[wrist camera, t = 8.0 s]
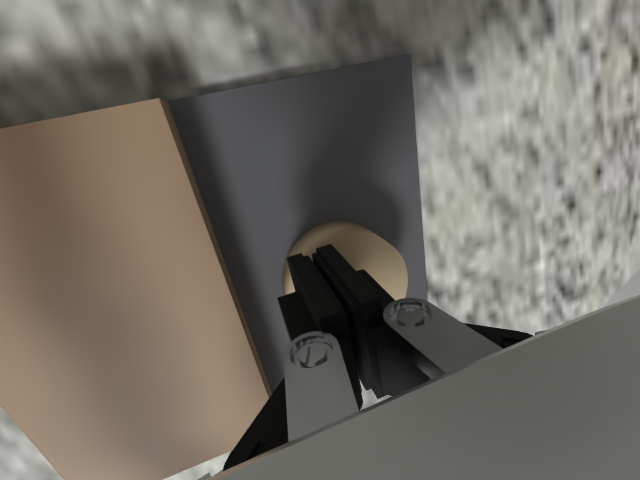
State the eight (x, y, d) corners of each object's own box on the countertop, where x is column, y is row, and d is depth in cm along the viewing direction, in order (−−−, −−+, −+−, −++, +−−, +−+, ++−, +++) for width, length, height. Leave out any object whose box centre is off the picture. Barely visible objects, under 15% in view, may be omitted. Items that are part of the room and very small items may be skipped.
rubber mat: (406, 55, 12) (410, 54, 12) (426, 334, 18) (430, 337, 18) (168, 102, 11) (167, 101, 10) (273, 395, 16) (274, 400, 16)
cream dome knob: (387, 214, 14) (412, 228, 12) (382, 310, 16) (403, 333, 14) (277, 227, 13) (287, 244, 11) (285, 329, 15) (294, 358, 13)
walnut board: (168, 102, 11) (158, 97, 9) (273, 395, 16) (280, 429, 14) (-120, 158, 9) (-204, 167, 7) (105, 462, 15) (89, 510, 13)
